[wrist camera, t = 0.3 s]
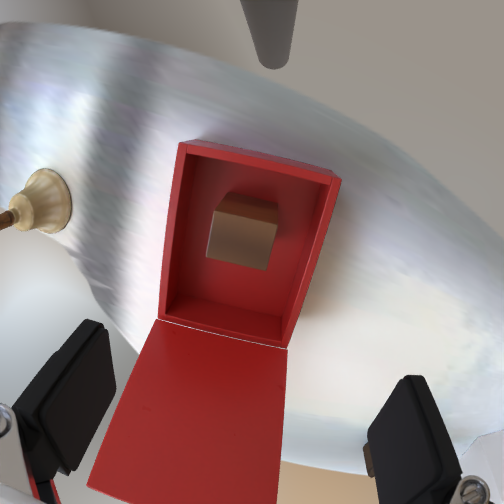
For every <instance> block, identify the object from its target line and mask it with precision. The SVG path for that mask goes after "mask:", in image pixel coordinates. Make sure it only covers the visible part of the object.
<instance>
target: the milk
mask: <svg viewBox="0 0 504 504" xmlns="http://www.w3.org/2000/svg"><path fill="white" fill-rule="evenodd" d="M458 461H459V464H460V466H461V469H462V472H463V473H462V474H461V478H462V479H463V478H464V477H466V476H469V475H475V476H478V477H480V478H482V479H483V480H484V481H485V482H486V483H487V485H488V487H489V489H490V501H491V502H493V503H495V504H504V430H501V431H497V432H494V433H491V434H487V435H484V436H480V437H478V438H477V439H476V440H475V441H474V442H473V444H472V445H471V446H470V447H469V448H468V450H467V451H466V452H465V453H464V454H463V455H462V456H461V458H460V459H459V460H458Z"/></svg>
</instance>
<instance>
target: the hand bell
mask: <svg viewBox="0 0 504 504" xmlns="http://www.w3.org/2000/svg"><path fill="white" fill-rule="evenodd" d="M70 212H71V200H70V194H69V191H68V188H67V186H66V184H65V182H64V181H63V179H62V178H61V177H60V176H59V175H58V174H57V173H56V172H54V171H53V170H49V169H40V170H37V171H36V172H34V173H33V174H32V175H31V176H30V178H29V179H28V181H27V183H26V185H25V188H24V189H23V190H22V191H21V192H19V193H17V194H15V195H14V196H13V197H12V198H11V200H10V203H9V210H8V211H5V212H4V213H2V214H0V230H2V229H5V228H7V227H9V226H12V225H14V226H15V228H17V229H18V230H20V231H28V230H31V229H35V228H37V229H38V230H40V231H42V232H45V233H57V232H59V231H60V230H62V229H63V228H64V227H65V225H66V224H67V222H68V220H69V217H70Z"/></svg>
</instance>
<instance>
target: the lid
mask: <svg viewBox="0 0 504 504" xmlns="http://www.w3.org/2000/svg"><path fill="white" fill-rule="evenodd" d="M287 354H288V350H286V349H281V348H276V347H271V346H266V345H261V344H256V343H252V342H247V341H243V340H238V339H234V338H229V337H225V336H221V335H216V334H212V333H208V332H204V331H200V330H196V329H192V328H188V327H184V326H181V325H177V324H173V323H169V322H166V321H162V320H159V319H156V320H155V322H154V324H153V327H152V329H151V331H150V333H149V335H148V337H147V339H146V342H145V344H144V346H143V348H142V350H141V353H140V355H139V357H138V359H137V361H136V364H135V366H134V368H133V371H132V373H131V375H130V377H129V380H128V382H127V384H126V386H125V389H124V391H123V393H122V396H121V398H120V401H119V403H118V405H117V408H116V410H115V412H114V415H113V417H112V420H111V422H110V425H109V427H108V430H107V432H106V435H105V437H104V440H103V442H102V445H101V447H100V450H99V452H98V455H97V457H96V460H95V463H94V466H93V468H92V471H91V473H90V476H89V479H88V482H87V484H86V485H87V487H89V488H91V489H93V490H95V491H98V492H100V493H103V494H106V495H108V496H110V497H113V498H116V499H118V500H121V501H124V502H127V503H130V504H276V502H277V493H278V482H279V469H280V460H281V448H282V435H283V421H284V407H285V391H286V373H287Z"/></svg>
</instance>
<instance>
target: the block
mask: <svg viewBox="0 0 504 504" xmlns="http://www.w3.org/2000/svg"><path fill="white" fill-rule="evenodd" d="M277 229H278V203H276V202H271V201H267V200H263V199H258V198H254V197H250V196H245V195H241V194H236V193H232V192H227V193H226V195H225V196H224V198H223V199H222V200H221V202H220V203H219V204H218V206H217V207H216V208H215V210H214V212H213V217H212V223H211V228H210V234H209V240H208V245H207V251H206V257H207V258H212V259H216V260H220V261H224V262H229V263H233V264H237V265H242V266H246V267H250V268H255V269H259V270H263V271H266V270H267V267H268V263H269V259H270V255H271V252H272V248H273V244H274V240H275V236H276V232H277Z"/></svg>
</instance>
